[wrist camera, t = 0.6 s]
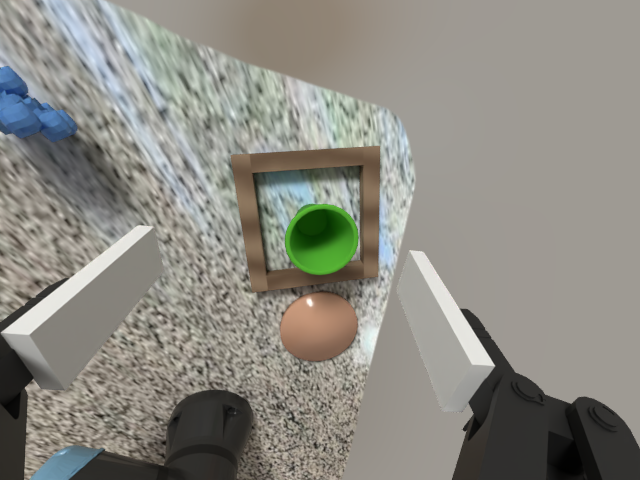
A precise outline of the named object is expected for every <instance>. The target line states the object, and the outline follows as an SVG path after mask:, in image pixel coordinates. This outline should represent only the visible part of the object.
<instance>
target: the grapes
mask: <svg viewBox="0 0 640 480" xmlns="http://www.w3.org/2000/svg"><path fill="white" fill-rule="evenodd" d="M27 93H28V88H27V85H26V83H25V82H24V81H23V80H22V79H21V78H20V77H19V76H18V75H17V74H16V72H14V71H13V70H12V69H11V68H10V67H9V66H6V67H1V68H0V131H1V132H3V133H4V134H5V135H7V134H11V133H13V134H15V135H16V136H17V137H19V138H24V137H27V136H30V135H32V134H35V133H37V132H39V131H40V132H41V133H42V134H43V135H44V136H45V137H46V138H47V139H49V140H50V141H51V142H55V141H59V140H61V139H64V138H66V137H68V136H71V135H73V134H75V133H76V131H77V125H76V123H75V122H74V121H73V120H72V118H71V117H70V116H69V115H68V114H67V113H66V112H64V111H63V110H58V111H56V110H54V109H53V108H52V107H51V106H50V105H49V104H47V103H43V104H40V103H39V102H38V101H37V100H36V99H35V98H34V99H32V98H31V97H29V96H28V95H26V94H27Z"/></svg>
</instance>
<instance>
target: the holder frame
mask: <svg viewBox="0 0 640 480" xmlns="http://www.w3.org/2000/svg"><path fill="white" fill-rule="evenodd" d="M231 162H232V168H233V174H234V181H235V187H236V193H237V199H238V206H239V212H240V218H241V224H242V231H243V237H244V243H245V249H246V256H247V262H248V268H249V274H250V281H251V287H252V293H254V292H262V291H269V290H277V289H285V288H293V287H301V286H309V285H316V284H324V283H332V282H340V281H348V280H355V279H363V278H371V277H378V251H379V183H380V146H370V147H353V148H337V149H321V150H305V151H288V152H272V153H256V154H240V155H231ZM356 165H359V175H360V260H358V261H350V262H348V263H347V264H346V265H345V266H344V267H343V268H341V269H340V270H338V271H336V272H333V273H330V274H325V275H315V274H310V273H307V272H304V271H302V270H301V269H299V268H291V269H282V270H274V271H267V270H266V262H265V255H264V248H263V240H262V233H261V226H260V218H259V211H258V204H257V196H256V189H255V181H254V174H253V173H257V172H271V171H285V170H299V169H314V168H328V167H342V166H356Z"/></svg>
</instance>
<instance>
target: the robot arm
mask: <svg viewBox="0 0 640 480" xmlns="http://www.w3.org/2000/svg"><path fill="white" fill-rule="evenodd" d="M163 272H164V268H163V263H162V259H161V255H160V250H159V246H158V242H157V237H156V233H155V229H154V227H151V226H140V225H138V226H137V227H135V228H134V229H133V230H132V231H130V232H129V233H128V234H126V235H125V236H124V237H123V238H121V239H120V240H119V241H117V242H116V243H115V244H114V245H112V246H111V247H110V248H108V249H107V250H106V251H105V252H103V253H102V254H101V255H99V256H98V257H97V258H96V259H94V260H93V261H92V262H91V263H89V264H88V265H87V266H85V267H84V268H83V269H82V270H80V271H79V272H78V273H76V274H75V275H74V276H73V277H71V278H65V279H63V280H60V281H58V282H56V283H54V284H52V285H50V286H48V287H47V288H46V289H44V290H43V291H42V292H40V293H39V294H38V295H36V298H32V299H31V300H30V301H28V302H27V303H26V304H25V306H22V307H20V308H19V309H18V310H16V311H15V312H14V313H12V314H11V315H10V316H8V317H7V318H6V319H4V320H3V321H2V322H0V480H24V466H25V444H26V422H27V400H28V395H27V392H26V390H25V387H26V386H27V385H28V384H29V383H30V382H31V381H32V379H34V380H35V381H36V383H37V384H38V385H39V387H40V388H41V389H49V390H66V389H67V388H68V386H69V385H70V384H71V383H72V382H73V380H74V379H75V378H76V377H77V376H78V374H79V373H80V372H81V371H82V370H83V368H84V367H85V366H86V365H87V363H88V362H89V361H90V360H91V359H92V357H93V356H94V355H95V354H96V353H97V351H98V350H99V349H100V348H101V347H102V345H103V344H104V343H105V342H106V341H107V339H108V338H109V337H110V336H111V334H112V333H113V332H114V331H115V330H116V328H117V327H118V326H119V325H120V324H121V322H122V321H123V320H124V319H125V318H126V316H127V315H128V314H129V313H130V312H131V310H132V309H133V308H134V307H135V306H136V304H137V303H138V302H139V301H140V299H141V298H142V297H143V296H144V295H145V293H146V292H147V291H148V290H149V289H150V287H151V286H152V285H153V284H154V283H155V281H156V280H157V279H158V278H159V277H160V275H161V274H162V273H163ZM396 291H397V294H398V296H399V299H400V302H401V304H402V307H403V310H404V312H405V315H406V317H407V320H408V323H409V325H410V328H411V331H412V333H413V336H414V338H415V341H416V344H417V347H418V349H419V352H420V354H421V357H422V360H423V362H424V365H425V368H426V370H427V373H428V376H429V378H430V381H431V383H432V386H433V389H434V391H435V394H436V397H437V399H438V402H439V405H440V407H441V410H442V411H448V412H463V410H464V409H465V408H466V406H467V405H468V403H469V405H470V407H471V409H472V411H473V413H474V414H473V416H472V417H471V418H470V420H469V421H468V422H467V424H466V425H465V426H464V428H463V431H466V430H467V432H466V435H465V439H464V442H463V445H462V448H461V452H460V455H459V458H458V461H457V464H456V468H455V471H454V474H453V478H452V480H640V448H639V446H638V444H637V442H636V440H635V438H634V436H633V434H632V432H631V430H630V429H629V428H628V426H627V425H626V423H625V422H624V421H623V420H622V419H621V418H620V417H619V416H618V415H617V414H616V413H615V412H614V411H613V410H611V409H610V408H609V407H607V406H606V405H604V404H602V403H601V402H598V401H597V400H595V399H592V398H588V397H579V398H577V399H576V400H575V401H574V402H573V403H572V404H570V403H567V402H564V401H562V400H558V399H556V398H553V397H550V396H547V395H545V394H544V392H543V391H542V390H541V389H540V388H539V387H538V386H537V385H536V384H535V383H534V382H532V381H531V380H530V379H528V378H527V377H524V376H522V375H520V374H518V373H515V372H514V370H513V368H512V367H511V366H510V364H509V363H508V361H507V360H506V358H505V357H504V356H503V354H502V352H501V351H500V349H499V348H498V346H497V345H496V343H495V342H494V341H493V340H492V339H491V336H490V335H489V333H488V332H487V331H486V330H485V327H484V326H483V325H482V323H481V322H480V320H479V319H478V318H477V317H476V316H475V315H474V314H473V313H471V312H470V311H469V310H468V309H459V308H458V306H457V304H456V303H455V301H454V300H453V298H452V296H451V295H450V293H449V292H448V290H447V289H446V287H445V285H444V284H443V283H442V281H441V279H440V277H439V276H438V274H437V273H436V271H435V269H434V268H433V266H432V265H431V263H430V261H429V260H428V259H427V257H426V255H425V254H424V252H421V251H409V253H408V256H407V259H406V262H405V265H404V268H403V271H402V274H401V277H400V280H399V283H398V286H397V289H396ZM252 420H253V414H252V410H251V408H250V406H249V404H248V403H247V402H246V401H245V400H244V399H243V398H241V397H240V396H238V395H236V394H234V393H231V392H228V391H222V390H207V391H202V392H198V393H195V394H192V395H190V396H188V397H187V398H185V399H184V400H182V401H181V402H180V403H179V404H178V405H177V406H176V407H175V409H174V410H173V412H172V415H171V418H170V420H169V423H168V426H167V432H166V454H165V464H164V466H161V465H157V464H154V463H150V462H146V461H142V460H138V459H134V458H130V457H126V456H122V455H118V454H115V453H111V452H107V451H105V449H103V448H101V449H94V448H88V447H83V446H77V445H73V446H68V447H65V448H63V449H61V450H60V451H58V452H57V453H55V454H54V455H53V456H52V457H51V458H50V459H49V460H47V461H46V462H45V463H44V465H43V466H42V467H41V468H40V469H39V470H38V471H37V472H36V473H35V474H34V475H33V476H32V477H31V478H30V480H236V477H237V469H238V463H239V461H240V458H241V456H242V453H243V451H244V448H245V446H246V444H247V441H248V439H249V437H250V434H251V430H252Z"/></svg>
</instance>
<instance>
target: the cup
mask: <svg viewBox="0 0 640 480" xmlns="http://www.w3.org/2000/svg"><path fill="white" fill-rule="evenodd" d="M358 238H359V237H358V229H357V227H356V224H355V222H354V220H353V219H352V218H351V216H350V215H349V214H348V213H347V212H345V211H344V210H343V209H341V208H339V207H336V206H334V205H328V204H319V205H316V204H308V205H305V206H303V207H302V208H301V209H300V210H299V211H298V212H297V214H296V216H295V217H294V218H293V219H292V221H291V223H290V224H289V226H288V228H287V231H286V235H285V247H286V252H287V254H288V256H289V258H290V260H291V261H292V262H293V264H294V265H295V266H296V267H298V268H299V269H301V270H302V271H304V272H307V273H310V274H315V275H325V274H330V273H333V272H336V271H338V270H340V269H341V268H343V267H344V266H345V265H346V264H347V263H348V262H349V261H350V260H351V258H352V257H353V255H354V254H355V251H356V249H357V246H358Z"/></svg>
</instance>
